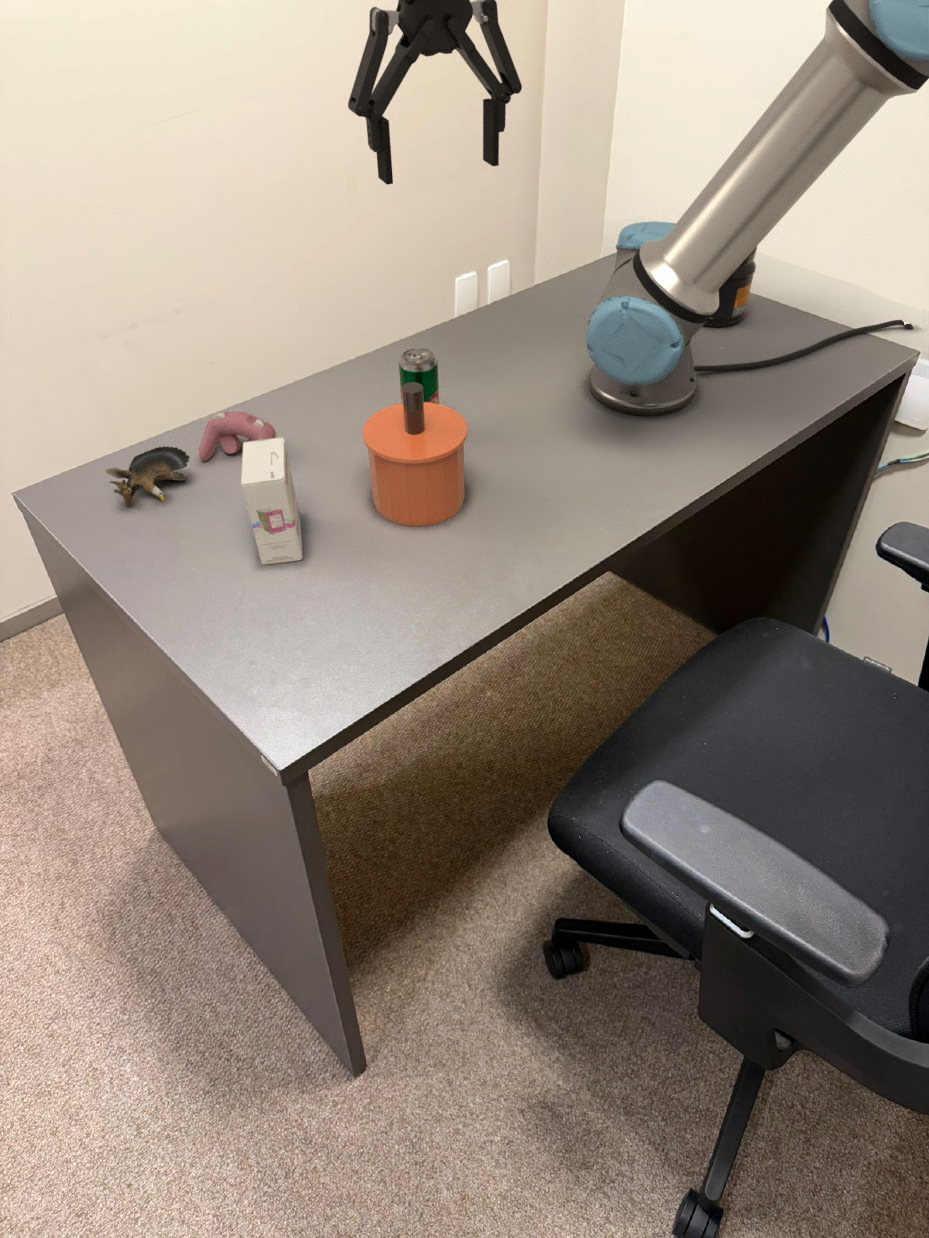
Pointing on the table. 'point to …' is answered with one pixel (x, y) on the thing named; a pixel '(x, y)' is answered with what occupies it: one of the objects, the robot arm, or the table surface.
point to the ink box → (271, 500)
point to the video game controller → (232, 432)
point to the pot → (418, 489)
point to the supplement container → (734, 294)
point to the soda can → (420, 372)
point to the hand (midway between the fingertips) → (439, 172)
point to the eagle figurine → (149, 471)
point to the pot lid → (414, 429)
